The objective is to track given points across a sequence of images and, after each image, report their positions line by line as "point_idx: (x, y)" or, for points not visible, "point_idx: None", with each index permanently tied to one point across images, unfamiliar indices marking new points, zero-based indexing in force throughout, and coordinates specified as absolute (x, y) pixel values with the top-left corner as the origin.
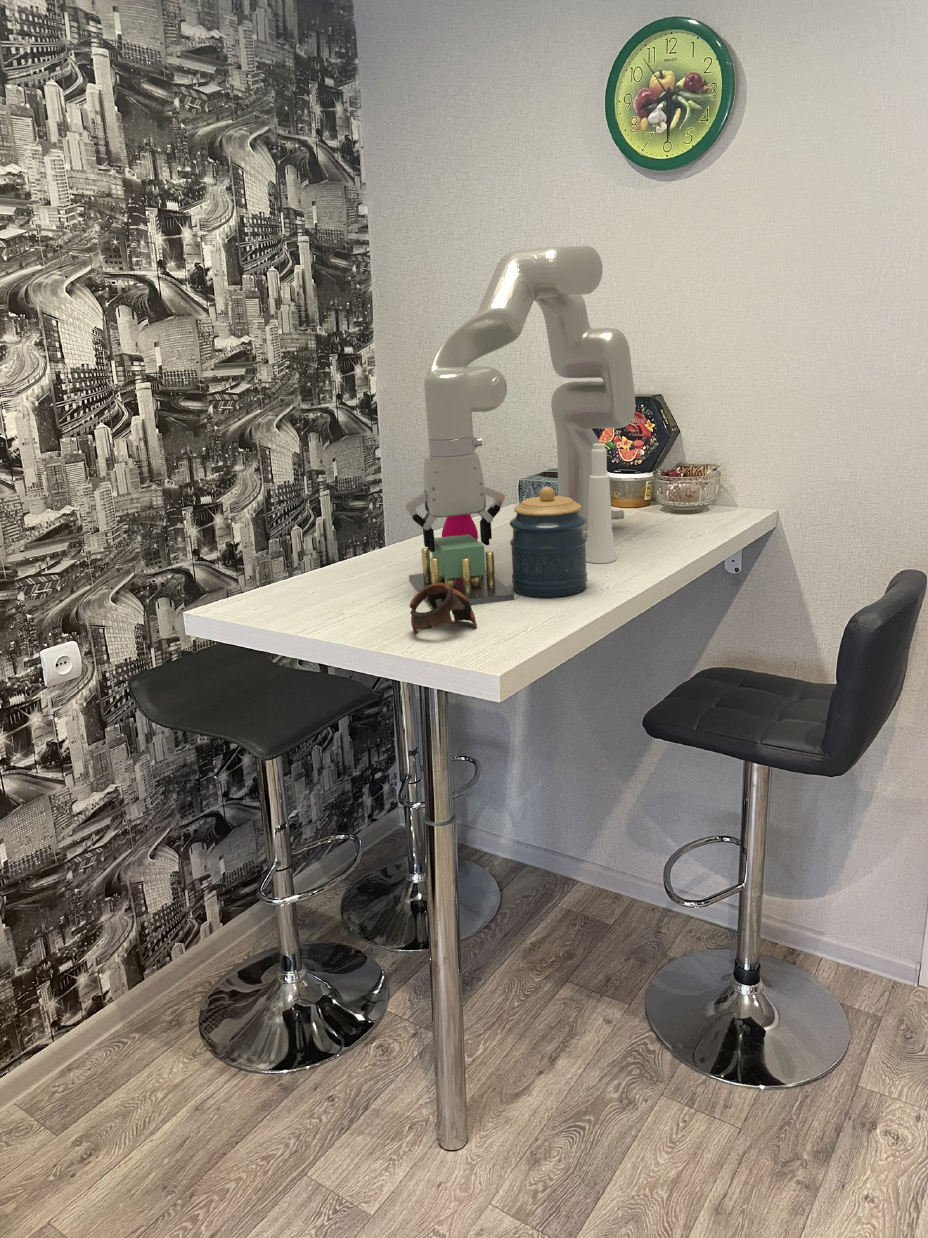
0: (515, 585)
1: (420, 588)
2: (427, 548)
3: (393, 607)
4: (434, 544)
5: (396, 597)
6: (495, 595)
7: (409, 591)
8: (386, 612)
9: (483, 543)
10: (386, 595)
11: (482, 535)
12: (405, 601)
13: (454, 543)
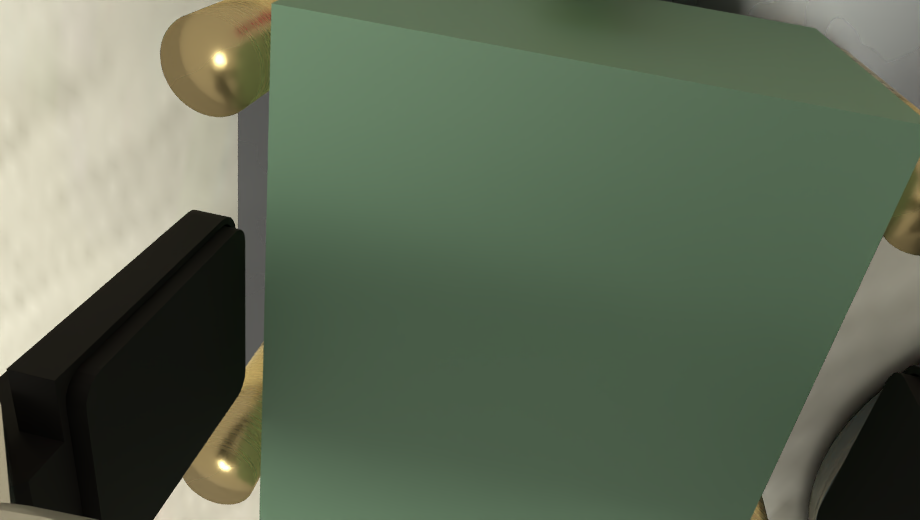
0: (814, 518)
1: (244, 147)
2: (241, 50)
3: (61, 291)
4: (206, 437)
5: (93, 104)
6: None
7: (200, 6)
8: (20, 346)
9: (845, 461)
10: (28, 10)
11: (884, 517)
12: (139, 224)
13: (451, 465)
